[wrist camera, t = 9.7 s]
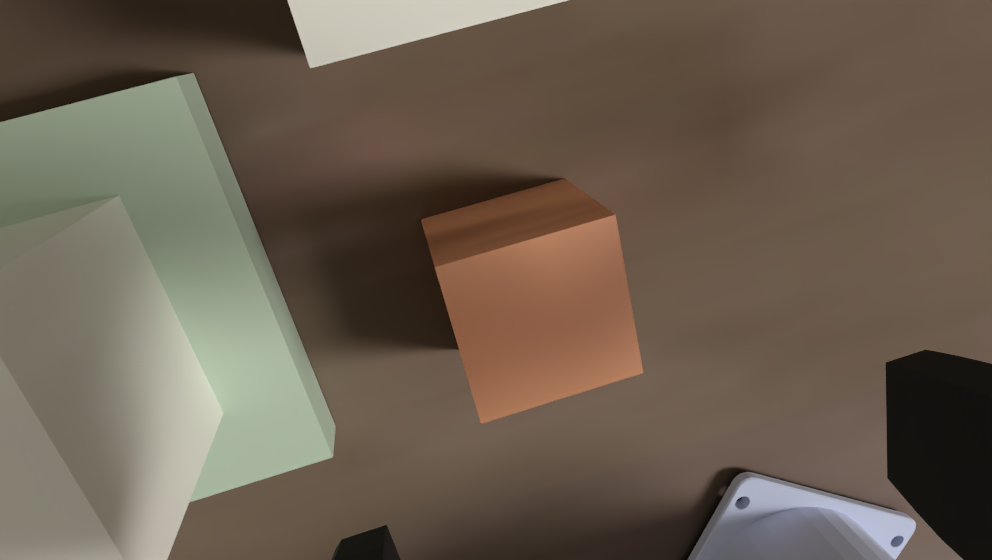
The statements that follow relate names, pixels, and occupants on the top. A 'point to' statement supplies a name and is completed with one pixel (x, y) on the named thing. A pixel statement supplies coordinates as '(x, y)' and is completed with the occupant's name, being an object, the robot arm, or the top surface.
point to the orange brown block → (535, 296)
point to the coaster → (184, 259)
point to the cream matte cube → (94, 393)
